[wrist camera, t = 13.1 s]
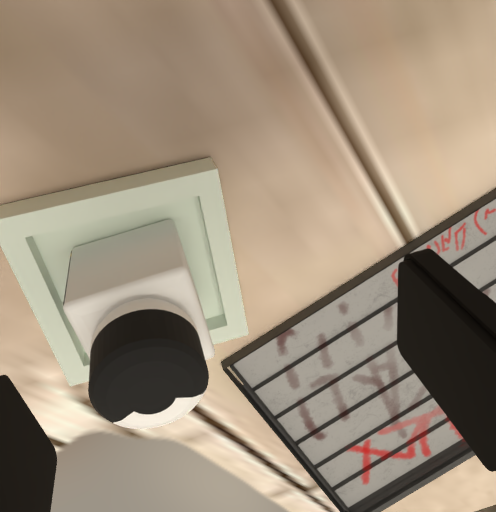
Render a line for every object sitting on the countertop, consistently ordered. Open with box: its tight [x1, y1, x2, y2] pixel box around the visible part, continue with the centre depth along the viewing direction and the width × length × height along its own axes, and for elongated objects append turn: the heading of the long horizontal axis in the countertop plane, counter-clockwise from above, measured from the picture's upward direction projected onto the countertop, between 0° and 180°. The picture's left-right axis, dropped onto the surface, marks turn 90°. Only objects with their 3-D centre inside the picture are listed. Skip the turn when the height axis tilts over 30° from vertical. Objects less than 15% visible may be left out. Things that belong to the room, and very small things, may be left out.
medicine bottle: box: [63, 219, 215, 429], centre depth 28 cm, size 7×7×12 cm
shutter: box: [221, 188, 496, 512], centre depth 48 cm, size 32×7×31 cm
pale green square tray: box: [0, 157, 249, 387], centre depth 33 cm, size 14×14×2 cm
